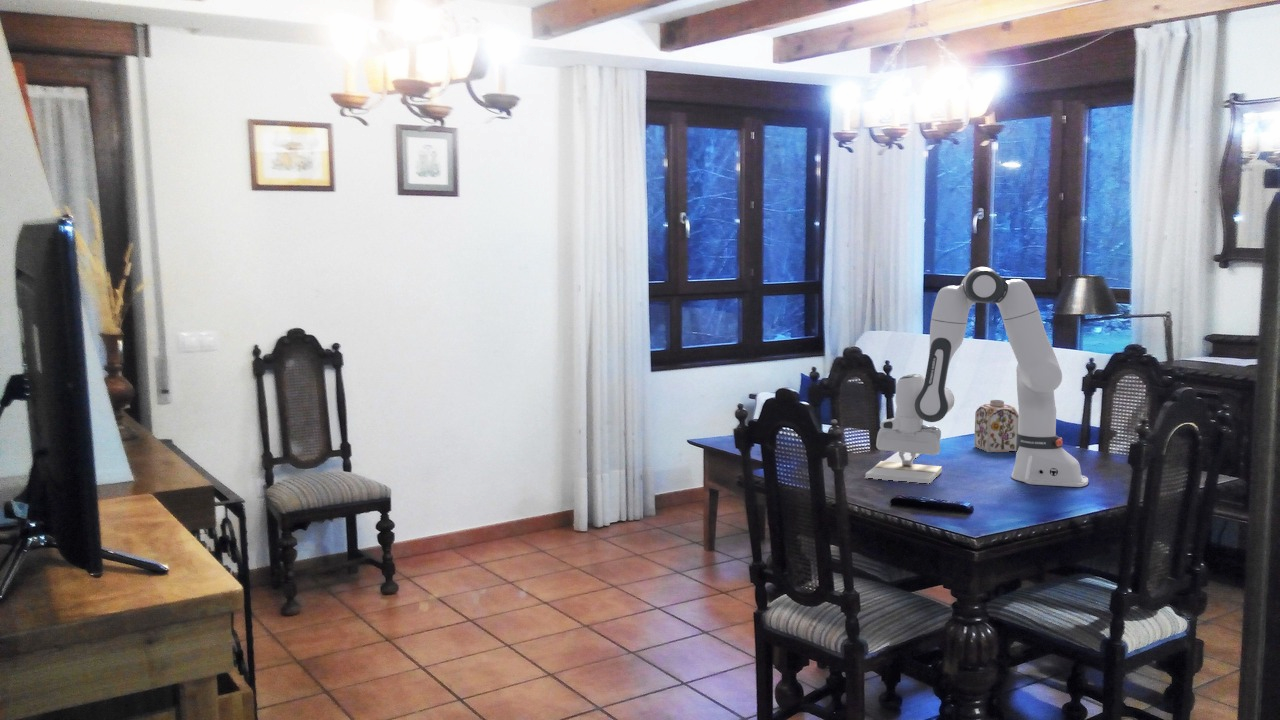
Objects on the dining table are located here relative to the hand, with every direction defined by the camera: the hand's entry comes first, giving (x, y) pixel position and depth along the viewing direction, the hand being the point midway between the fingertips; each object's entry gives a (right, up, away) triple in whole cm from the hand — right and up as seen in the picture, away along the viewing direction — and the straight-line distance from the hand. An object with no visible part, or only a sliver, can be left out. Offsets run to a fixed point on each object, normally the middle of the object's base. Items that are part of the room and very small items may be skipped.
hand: (907, 465), depth 337 cm
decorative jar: (+42, +2, +37) cm, 56 cm away
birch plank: (0, -2, -1) cm, 2 cm away
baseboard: (+3, -1, +22) cm, 22 cm away
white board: (-4, -3, -9) cm, 11 cm away
